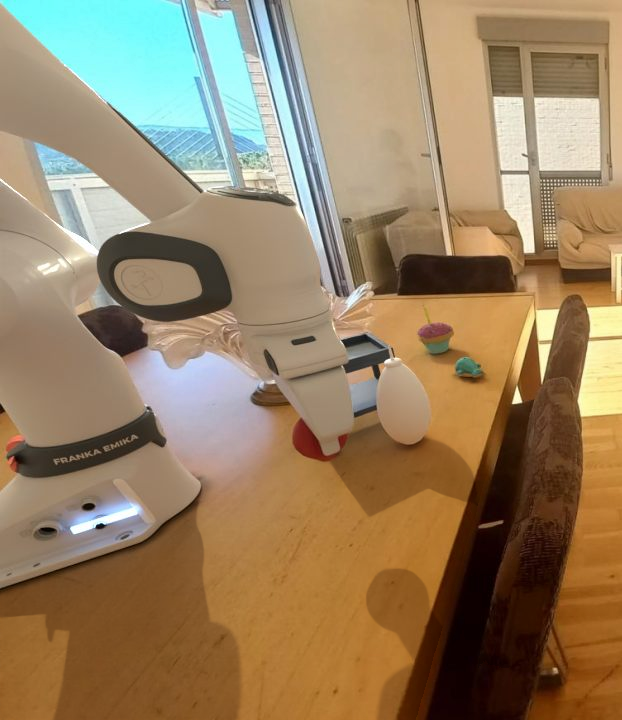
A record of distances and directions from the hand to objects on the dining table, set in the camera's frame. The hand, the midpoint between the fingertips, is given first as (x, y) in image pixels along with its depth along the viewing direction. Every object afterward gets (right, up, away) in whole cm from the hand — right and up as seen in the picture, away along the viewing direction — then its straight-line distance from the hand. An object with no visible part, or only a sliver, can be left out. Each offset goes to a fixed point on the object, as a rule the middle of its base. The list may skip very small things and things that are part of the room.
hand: (322, 440), depth 59 cm
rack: (-10, -2, +27) cm, 29 cm away
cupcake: (-9, +12, +61) cm, 63 cm away
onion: (0, -3, +1) cm, 3 cm away
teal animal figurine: (+4, +7, +46) cm, 47 cm away
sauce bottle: (+2, -4, +22) cm, 23 cm away
